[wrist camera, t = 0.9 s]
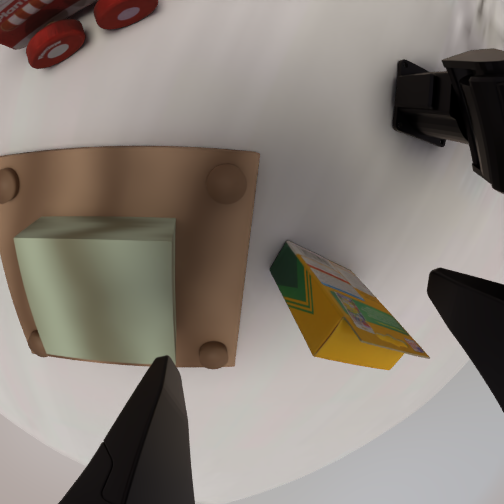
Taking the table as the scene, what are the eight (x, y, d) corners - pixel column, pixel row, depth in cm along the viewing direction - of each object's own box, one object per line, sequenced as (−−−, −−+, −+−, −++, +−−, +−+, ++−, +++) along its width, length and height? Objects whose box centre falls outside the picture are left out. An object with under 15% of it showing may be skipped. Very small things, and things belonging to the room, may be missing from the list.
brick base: (255, 151, 19) (277, 161, 14) (231, 355, 26) (241, 400, 21) (-1, 156, 14) (-44, 170, 9) (37, 343, 21) (18, 382, 17)
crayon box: (266, 271, 23) (323, 383, 12) (285, 238, 22) (362, 337, 12) (333, 297, 25) (402, 391, 15) (352, 270, 25) (432, 356, 14)
